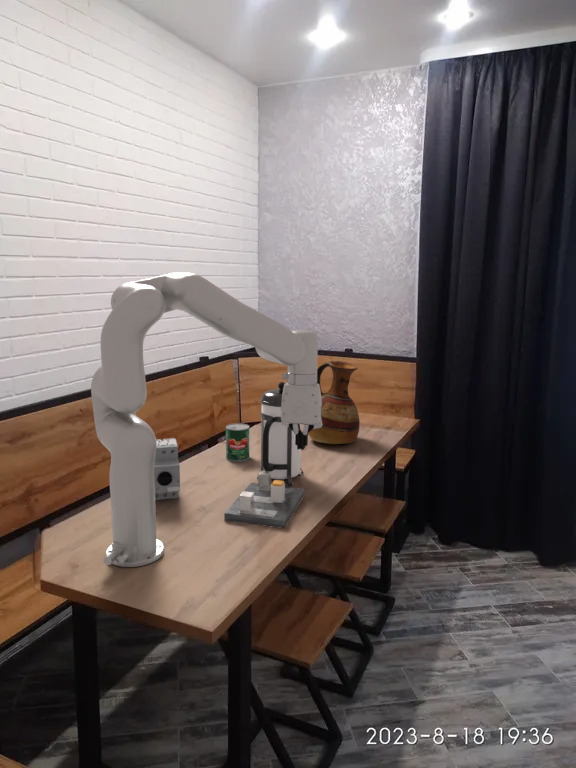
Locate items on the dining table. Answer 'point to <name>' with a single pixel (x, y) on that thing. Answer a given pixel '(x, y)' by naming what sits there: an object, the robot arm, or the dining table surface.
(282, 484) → the toggle
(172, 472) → the circuit breaker
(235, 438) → the canned tomato
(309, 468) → the dining table surface
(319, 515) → the dining table surface
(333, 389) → the ceramic pitcher
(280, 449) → the coffee press
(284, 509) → the panel
